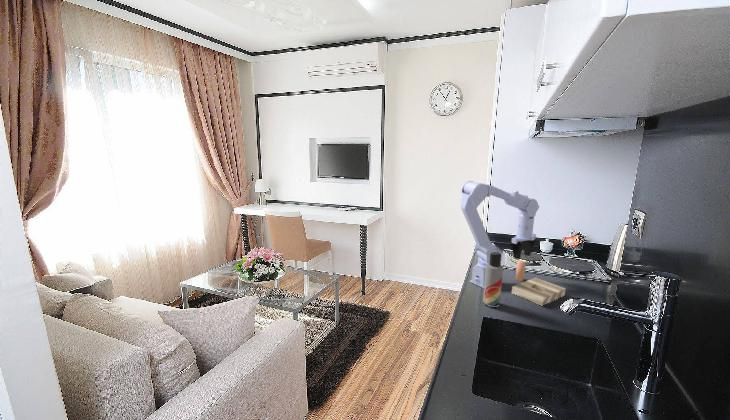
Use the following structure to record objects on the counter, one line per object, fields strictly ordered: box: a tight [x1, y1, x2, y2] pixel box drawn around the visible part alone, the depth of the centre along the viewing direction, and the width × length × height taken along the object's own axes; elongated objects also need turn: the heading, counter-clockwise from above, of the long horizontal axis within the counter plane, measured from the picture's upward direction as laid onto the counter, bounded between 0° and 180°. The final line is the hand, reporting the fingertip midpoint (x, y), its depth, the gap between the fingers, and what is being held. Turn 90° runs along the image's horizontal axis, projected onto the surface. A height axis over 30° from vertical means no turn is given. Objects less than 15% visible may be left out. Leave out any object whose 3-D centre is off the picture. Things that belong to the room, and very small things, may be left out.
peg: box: [515, 260, 526, 282], centre depth 135 cm, size 3×3×8 cm
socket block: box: [511, 277, 567, 307], centre depth 122 cm, size 16×12×3 cm
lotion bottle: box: [482, 251, 504, 306], centre depth 113 cm, size 6×6×20 cm
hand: (522, 256), depth 134 cm, fingers open, 7 cm apart
